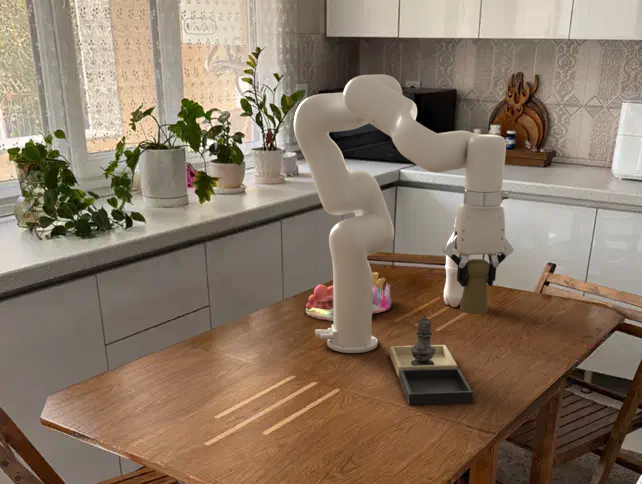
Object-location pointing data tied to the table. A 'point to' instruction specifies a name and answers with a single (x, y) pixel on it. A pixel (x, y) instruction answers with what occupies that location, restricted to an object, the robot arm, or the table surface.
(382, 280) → the candy landscape model
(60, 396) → the table surface
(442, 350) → the cream tray
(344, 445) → the table surface
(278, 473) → the table surface
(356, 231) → the robot arm
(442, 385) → the charcoal tray
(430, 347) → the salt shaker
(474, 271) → the cork
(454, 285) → the water bottle
